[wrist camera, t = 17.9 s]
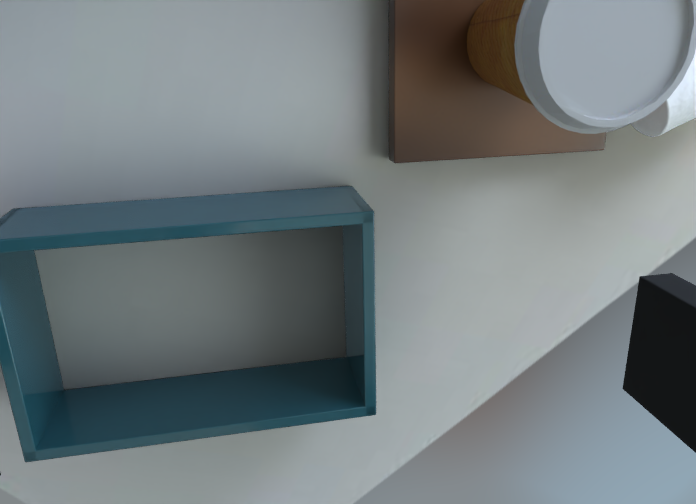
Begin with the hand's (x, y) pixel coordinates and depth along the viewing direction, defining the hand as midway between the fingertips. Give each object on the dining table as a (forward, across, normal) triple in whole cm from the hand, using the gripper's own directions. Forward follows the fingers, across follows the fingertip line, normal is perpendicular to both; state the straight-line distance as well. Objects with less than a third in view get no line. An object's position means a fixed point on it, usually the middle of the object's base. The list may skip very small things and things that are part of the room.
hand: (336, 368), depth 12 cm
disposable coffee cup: (+29, +17, +6) cm, 34 cm away
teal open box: (+31, -5, -11) cm, 33 cm away
